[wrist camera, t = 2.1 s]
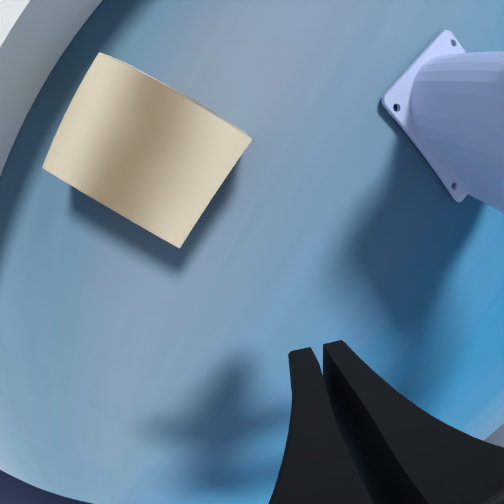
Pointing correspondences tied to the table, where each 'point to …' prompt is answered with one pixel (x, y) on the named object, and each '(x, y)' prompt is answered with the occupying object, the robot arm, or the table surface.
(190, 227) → the maple block
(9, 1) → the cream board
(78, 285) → the table surface
